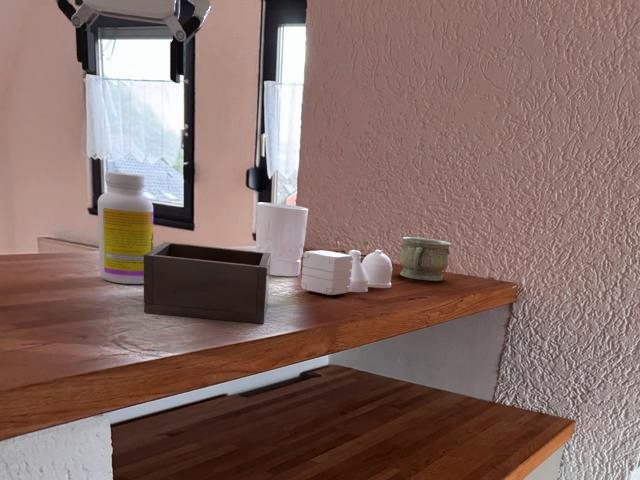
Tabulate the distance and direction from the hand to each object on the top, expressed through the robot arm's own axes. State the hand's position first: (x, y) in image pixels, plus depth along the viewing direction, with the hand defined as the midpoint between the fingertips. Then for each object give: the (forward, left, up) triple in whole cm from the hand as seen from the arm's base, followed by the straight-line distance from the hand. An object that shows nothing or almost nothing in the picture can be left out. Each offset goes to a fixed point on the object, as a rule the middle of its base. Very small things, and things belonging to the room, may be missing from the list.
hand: (132, 76), depth 83 cm
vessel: (+43, +35, -24) cm, 60 cm away
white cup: (+18, +22, -24) cm, 37 cm away
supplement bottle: (-1, +2, -24) cm, 24 cm away
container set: (+29, +14, -24) cm, 40 cm away
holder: (+11, -10, -23) cm, 28 cm away
